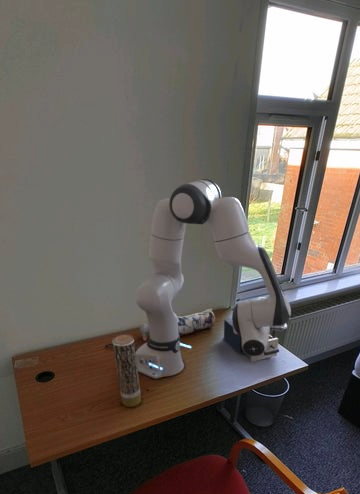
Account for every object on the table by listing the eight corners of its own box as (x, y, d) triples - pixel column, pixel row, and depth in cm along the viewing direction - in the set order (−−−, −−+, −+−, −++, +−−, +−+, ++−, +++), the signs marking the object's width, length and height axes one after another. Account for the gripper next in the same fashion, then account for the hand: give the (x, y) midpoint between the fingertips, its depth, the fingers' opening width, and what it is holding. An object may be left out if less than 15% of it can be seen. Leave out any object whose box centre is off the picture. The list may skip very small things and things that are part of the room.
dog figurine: (168, 339, 165) (167, 318, 160) (140, 341, 165) (138, 320, 160) (168, 334, 170) (166, 313, 164) (141, 335, 170) (139, 315, 164)
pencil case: (176, 340, 164) (175, 321, 159) (168, 333, 171) (167, 314, 166) (216, 329, 172) (217, 310, 167) (207, 322, 179) (207, 304, 174)
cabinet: (265, 347, 155) (267, 327, 150) (239, 353, 151) (240, 333, 146) (248, 333, 167) (249, 314, 162) (223, 338, 163) (224, 319, 158)
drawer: (283, 361, 143) (285, 344, 139) (258, 368, 140) (260, 350, 136) (258, 341, 158) (260, 325, 154) (235, 346, 155) (236, 330, 151)
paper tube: (143, 396, 129) (135, 334, 116) (139, 408, 123) (131, 345, 110) (124, 395, 129) (115, 334, 117) (120, 407, 123) (109, 344, 111)
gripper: (288, 321, 124) (288, 306, 136) (229, 317, 129) (234, 302, 141) (286, 337, 128) (286, 321, 139) (229, 332, 132) (234, 317, 144)
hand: (260, 311), depth 140 cm, fingers closed on marker, 2 cm apart
